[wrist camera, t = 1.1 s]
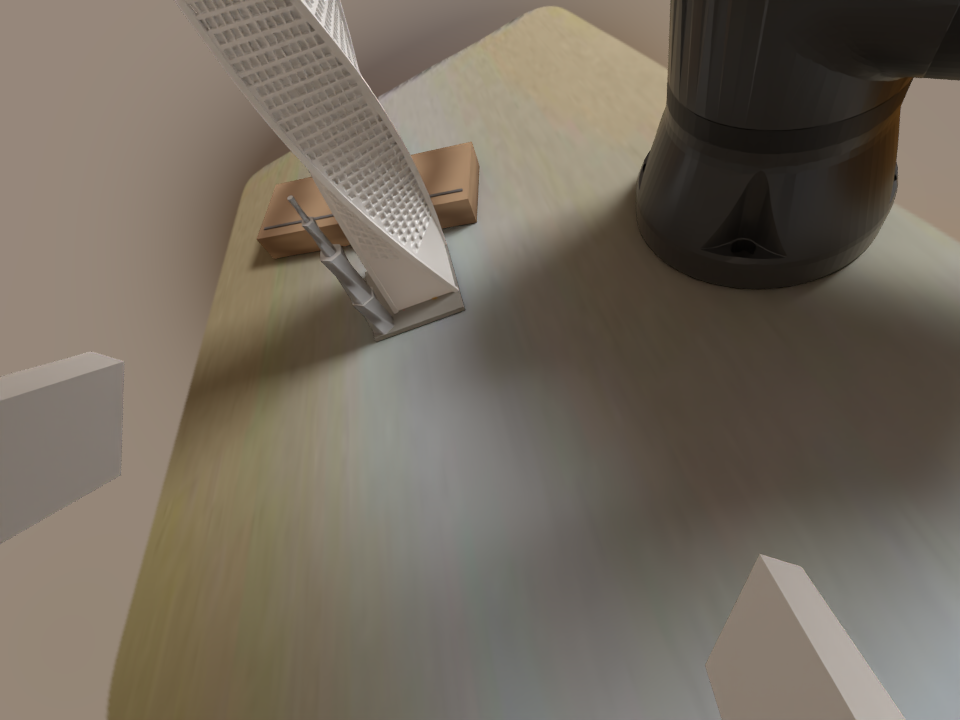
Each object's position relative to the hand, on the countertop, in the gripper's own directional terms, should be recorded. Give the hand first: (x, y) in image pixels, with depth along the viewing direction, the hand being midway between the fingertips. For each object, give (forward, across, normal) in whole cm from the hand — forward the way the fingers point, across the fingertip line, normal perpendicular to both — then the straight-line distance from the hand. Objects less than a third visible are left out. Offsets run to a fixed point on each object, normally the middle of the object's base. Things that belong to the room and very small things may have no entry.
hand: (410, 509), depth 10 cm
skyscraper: (+30, -8, -1) cm, 31 cm away
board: (+36, -15, +3) cm, 39 cm away
